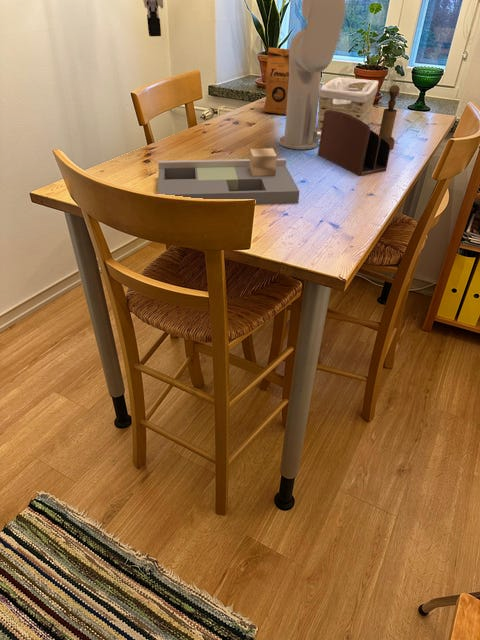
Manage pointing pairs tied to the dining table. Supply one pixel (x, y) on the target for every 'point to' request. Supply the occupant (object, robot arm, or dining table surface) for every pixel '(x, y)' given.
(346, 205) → the dining table surface
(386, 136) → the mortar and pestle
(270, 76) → the coffee package
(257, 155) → the beech block
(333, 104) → the storage basket
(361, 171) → the letter holder
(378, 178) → the dining table surface
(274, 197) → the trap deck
